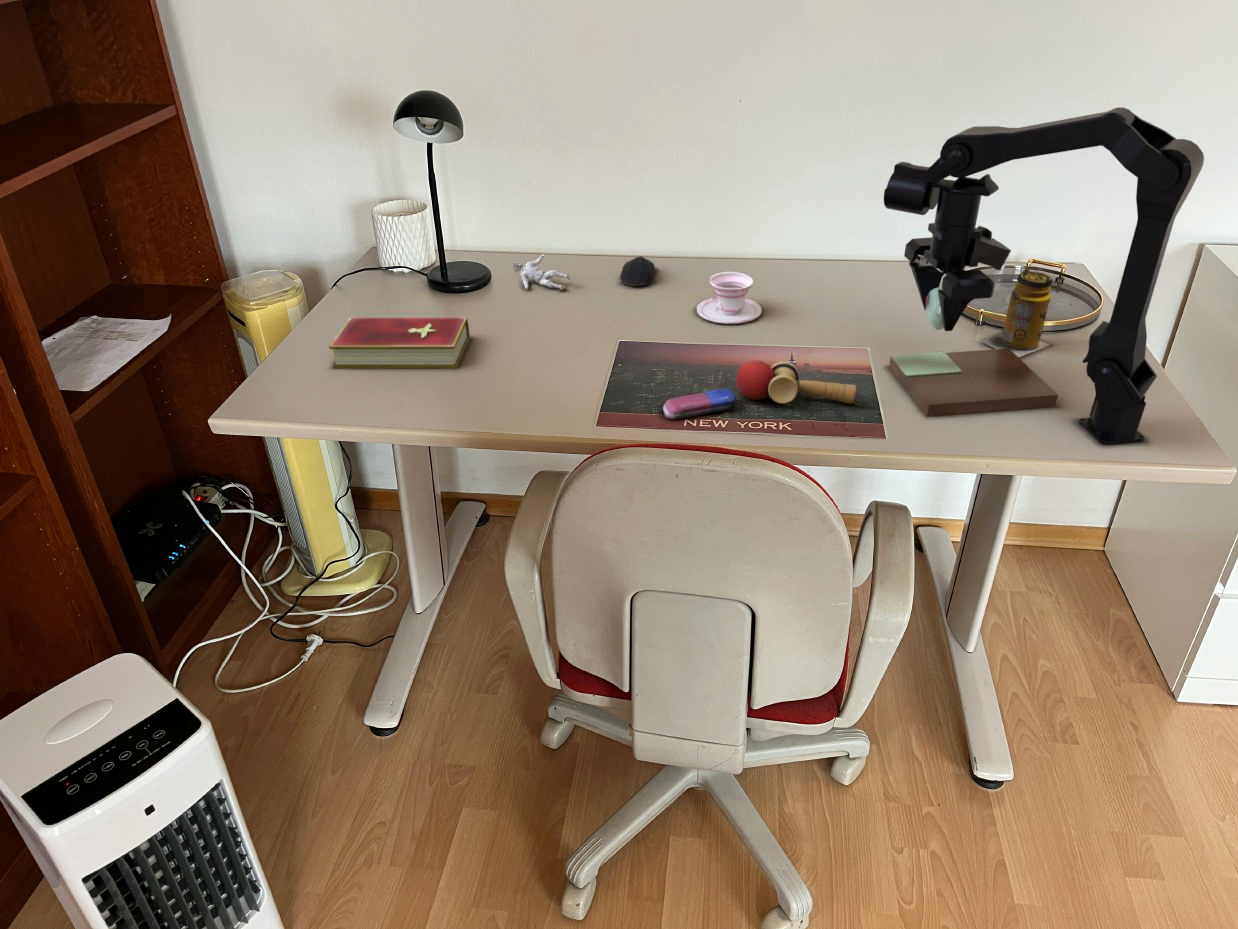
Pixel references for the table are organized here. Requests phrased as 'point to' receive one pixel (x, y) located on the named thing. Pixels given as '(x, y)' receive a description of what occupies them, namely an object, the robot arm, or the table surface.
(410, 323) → the hardcover book
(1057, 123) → the robot arm
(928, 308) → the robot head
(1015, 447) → the table surface
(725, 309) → the teacup
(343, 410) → the table surface
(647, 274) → the gaming mouse
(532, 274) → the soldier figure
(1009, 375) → the walnut board
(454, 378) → the table surface
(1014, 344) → the condiment
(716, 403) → the eraser
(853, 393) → the kendama
